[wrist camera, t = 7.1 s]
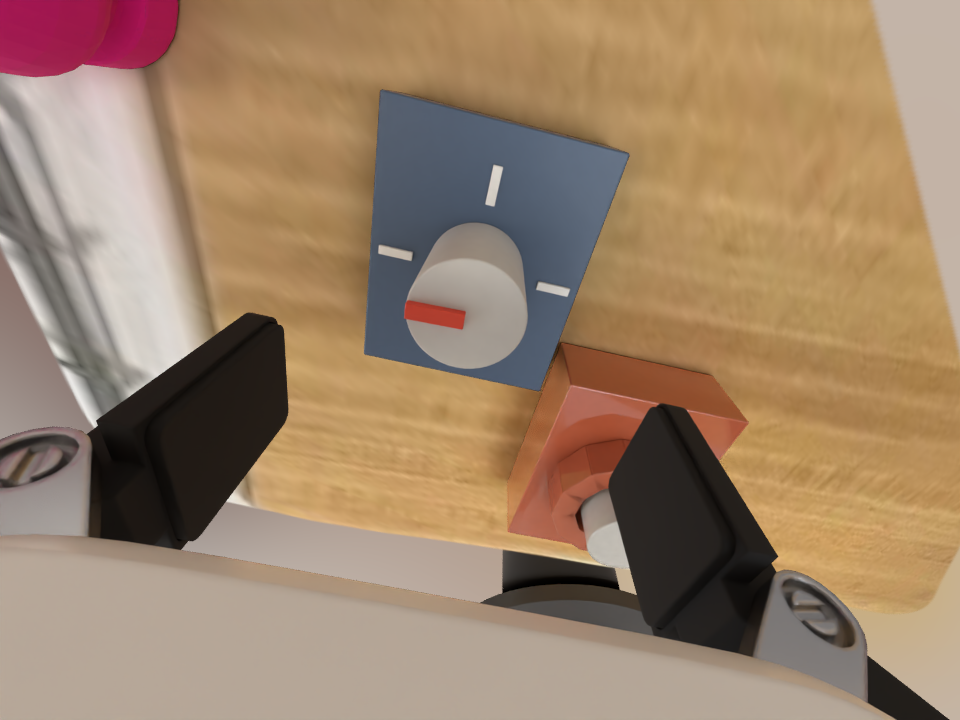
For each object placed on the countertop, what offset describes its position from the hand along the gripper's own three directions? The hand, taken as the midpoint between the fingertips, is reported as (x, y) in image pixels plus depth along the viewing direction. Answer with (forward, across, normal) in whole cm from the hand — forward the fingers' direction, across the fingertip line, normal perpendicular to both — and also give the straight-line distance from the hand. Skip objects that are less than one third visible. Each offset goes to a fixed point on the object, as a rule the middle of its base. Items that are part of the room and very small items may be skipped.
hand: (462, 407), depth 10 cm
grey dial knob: (+8, 0, -1) cm, 8 cm away
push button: (+6, -10, +9) cm, 15 cm away
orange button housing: (+12, -10, +9) cm, 17 cm away
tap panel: (+11, 0, -1) cm, 11 cm away
